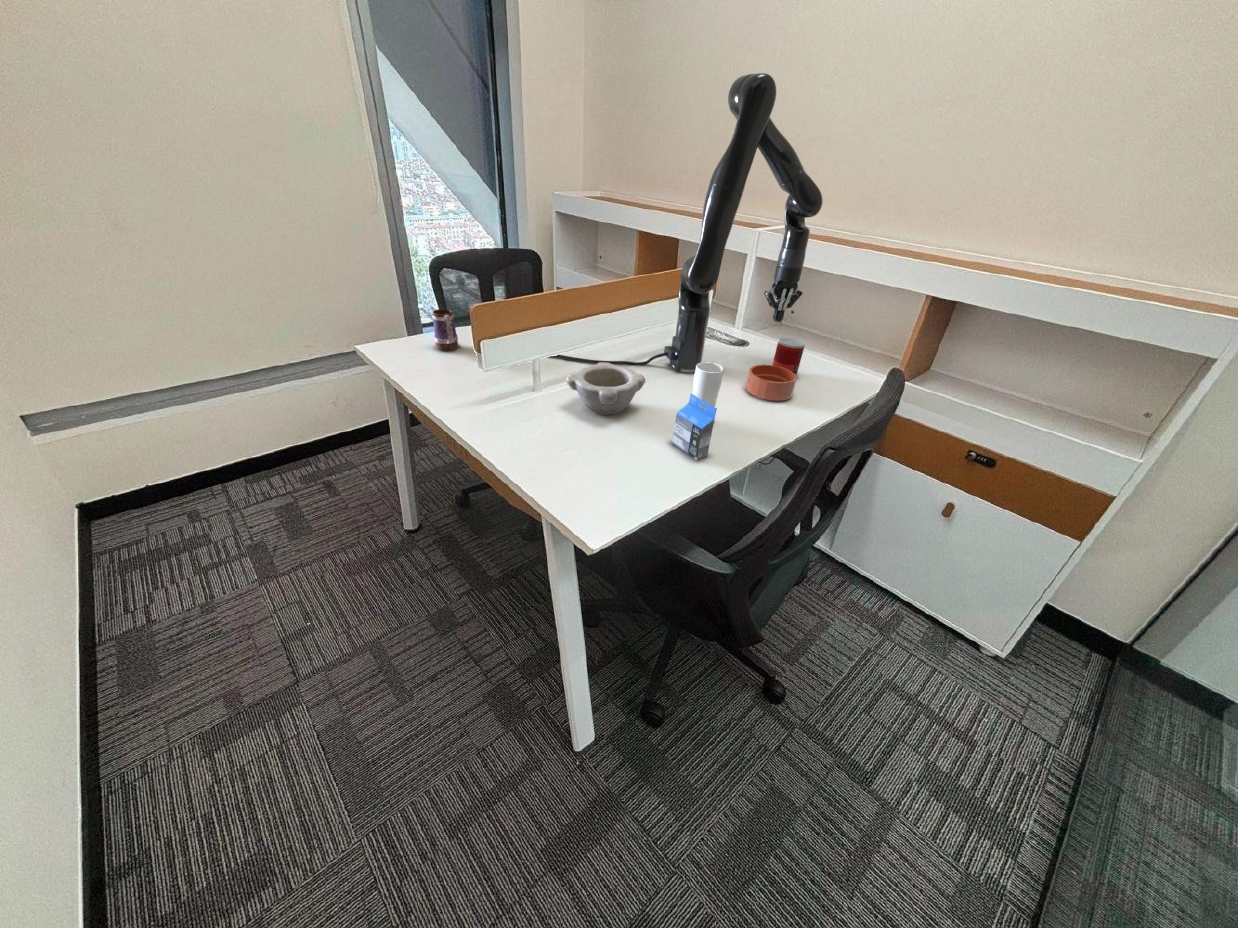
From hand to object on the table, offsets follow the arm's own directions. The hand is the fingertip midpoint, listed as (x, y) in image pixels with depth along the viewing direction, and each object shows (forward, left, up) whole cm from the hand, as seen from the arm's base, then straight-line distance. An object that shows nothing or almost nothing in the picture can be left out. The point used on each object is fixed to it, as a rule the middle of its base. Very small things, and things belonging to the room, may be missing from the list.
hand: (777, 321), depth 158 cm
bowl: (-13, -20, -14) cm, 28 cm away
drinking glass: (-41, -32, -15) cm, 54 cm away
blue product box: (-50, -44, -15) cm, 68 cm away
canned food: (0, -9, -15) cm, 17 cm away
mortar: (-63, -19, -15) cm, 67 cm away
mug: (-100, +31, -15) cm, 106 cm away
